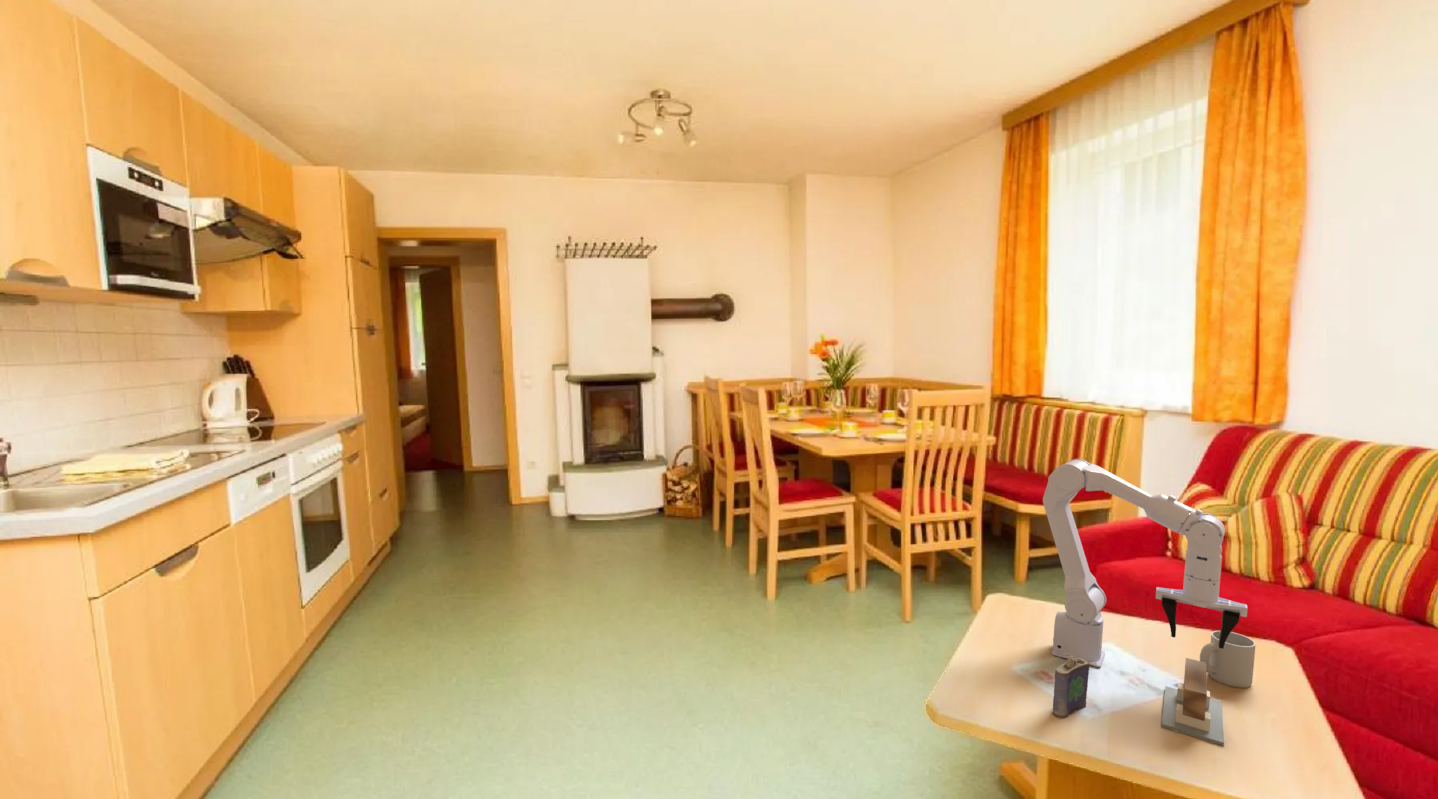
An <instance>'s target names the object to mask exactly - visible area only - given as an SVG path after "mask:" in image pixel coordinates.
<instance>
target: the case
mask: <svg viewBox="0 0 1438 799" xmlns="http://www.w3.org/2000/svg"><path fill="white" fill-rule="evenodd" d="M1183 676H1184V677H1183V684H1184V694H1183V715H1185V716H1189V717H1192V718H1195V719H1199V720H1202V721H1205V710H1206V698H1207V691H1208V690H1207V688H1208V687H1207V685H1208V684H1207V672H1206V663H1205V662H1201V661H1200V660H1198V659H1193V658H1189V657H1185V667H1184V675H1183Z"/></svg>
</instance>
